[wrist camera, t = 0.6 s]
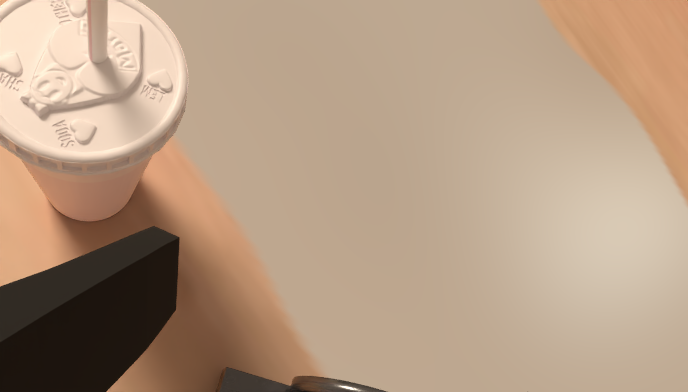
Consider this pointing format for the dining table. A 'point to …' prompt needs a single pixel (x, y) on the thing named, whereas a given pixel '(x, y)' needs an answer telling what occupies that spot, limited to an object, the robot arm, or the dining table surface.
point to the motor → (244, 388)
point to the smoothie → (88, 97)
